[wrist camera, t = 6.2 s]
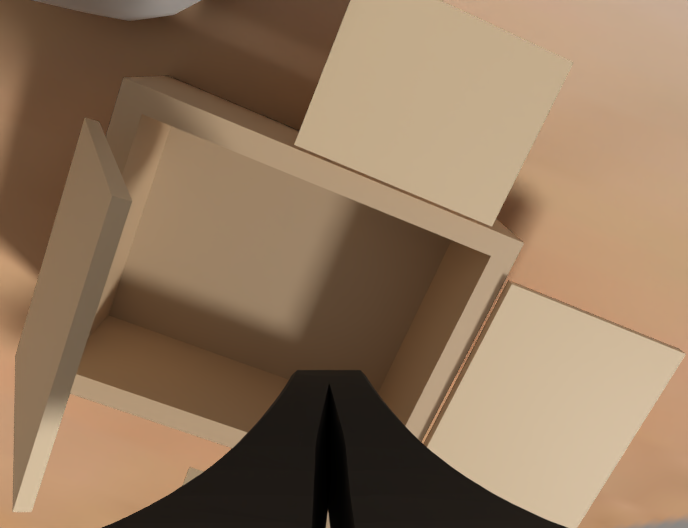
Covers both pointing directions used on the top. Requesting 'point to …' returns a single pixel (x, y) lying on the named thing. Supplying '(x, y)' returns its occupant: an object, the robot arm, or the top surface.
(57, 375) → the long flap
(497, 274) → the carton
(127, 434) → the top surface
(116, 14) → the can
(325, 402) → the robot arm
